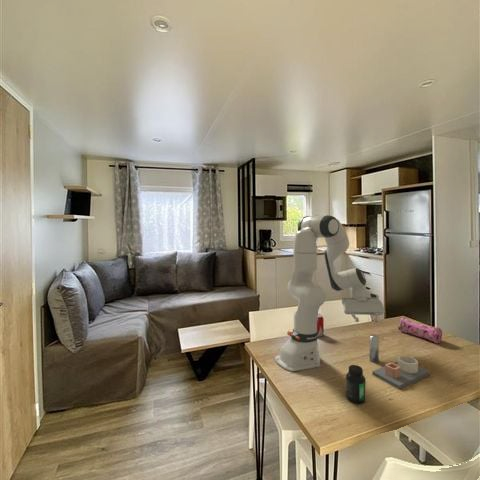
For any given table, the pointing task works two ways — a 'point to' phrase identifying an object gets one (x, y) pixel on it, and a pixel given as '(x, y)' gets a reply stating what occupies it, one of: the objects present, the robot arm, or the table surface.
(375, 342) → the metal peg
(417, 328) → the pencil case
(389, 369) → the holder board
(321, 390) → the table surface
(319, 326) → the soda can
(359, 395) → the supplement bottle
